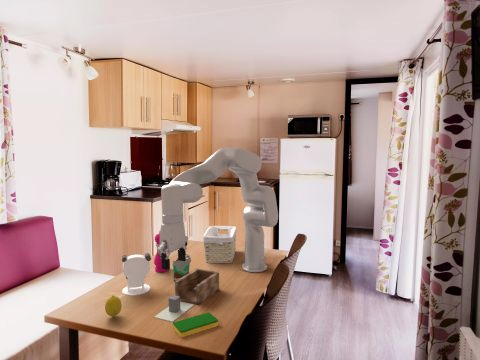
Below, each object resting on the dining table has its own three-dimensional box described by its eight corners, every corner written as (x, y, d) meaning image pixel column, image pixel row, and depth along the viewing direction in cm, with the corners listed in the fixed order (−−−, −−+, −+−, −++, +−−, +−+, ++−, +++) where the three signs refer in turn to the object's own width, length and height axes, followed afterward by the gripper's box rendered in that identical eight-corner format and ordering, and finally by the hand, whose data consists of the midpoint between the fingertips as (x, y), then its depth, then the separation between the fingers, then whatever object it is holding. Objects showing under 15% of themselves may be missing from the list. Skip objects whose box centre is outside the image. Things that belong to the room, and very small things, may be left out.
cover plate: (176, 302, 137) (176, 288, 137) (194, 306, 134) (193, 291, 133) (154, 318, 125) (153, 303, 124) (172, 323, 121) (172, 307, 121)
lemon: (108, 313, 127) (107, 292, 126) (123, 313, 128) (122, 292, 127) (103, 321, 122) (102, 299, 121) (119, 320, 122) (118, 298, 121)
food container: (185, 284, 154) (185, 262, 153) (172, 283, 155) (172, 261, 154) (195, 274, 166) (194, 253, 165) (182, 273, 167) (182, 252, 166)
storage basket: (233, 264, 179) (233, 236, 178) (202, 264, 180) (201, 236, 179) (237, 250, 203) (237, 225, 201) (209, 250, 204) (209, 225, 203)
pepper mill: (171, 268, 173) (171, 229, 171) (164, 273, 167) (163, 232, 164) (159, 266, 176) (158, 227, 174) (151, 271, 169) (150, 231, 167)
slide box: (197, 285, 153) (196, 268, 152) (219, 289, 148) (219, 272, 148) (175, 299, 139) (175, 281, 138) (199, 305, 134) (198, 286, 133)
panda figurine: (150, 282, 156) (149, 250, 154) (152, 293, 145) (151, 257, 143) (122, 286, 152) (120, 252, 150) (122, 297, 141) (120, 261, 140)
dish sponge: (218, 326, 119) (218, 319, 119) (181, 338, 111) (180, 331, 111) (209, 318, 125) (209, 311, 125) (172, 329, 117) (172, 322, 117)
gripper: (178, 213, 135) (179, 256, 137) (148, 223, 119) (150, 271, 121) (194, 215, 132) (195, 259, 134) (166, 225, 116) (168, 274, 118)
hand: (174, 264), depth 127 cm, fingers open, 9 cm apart
